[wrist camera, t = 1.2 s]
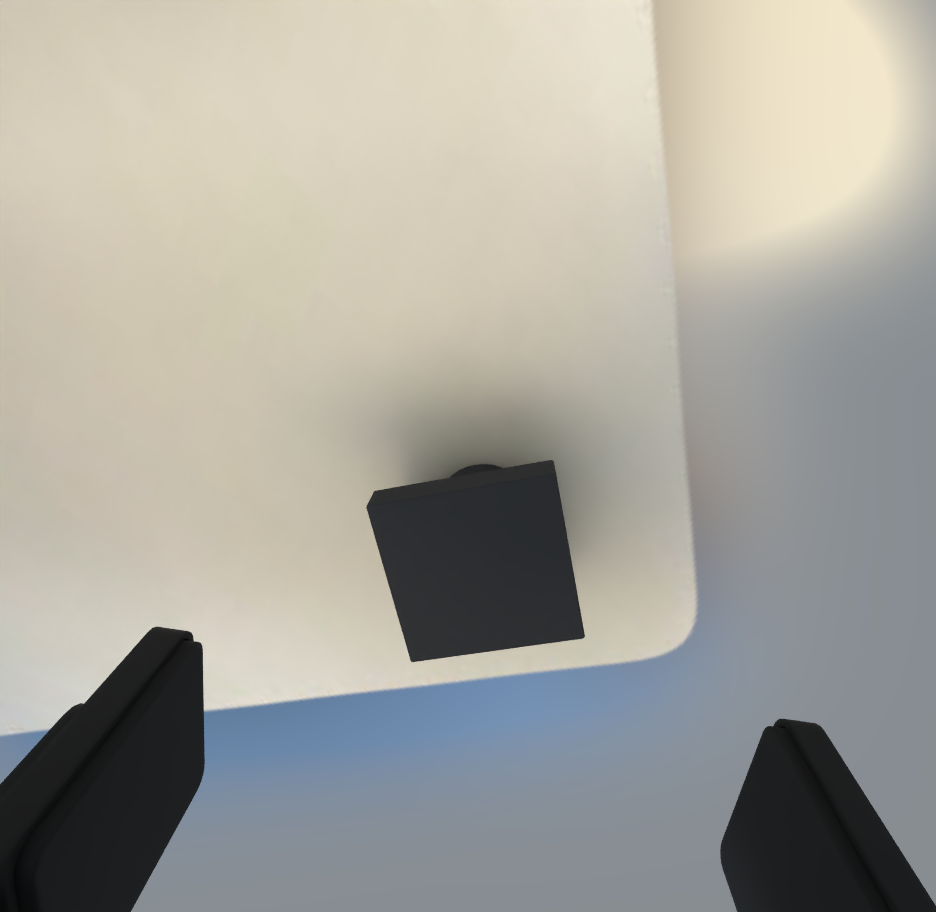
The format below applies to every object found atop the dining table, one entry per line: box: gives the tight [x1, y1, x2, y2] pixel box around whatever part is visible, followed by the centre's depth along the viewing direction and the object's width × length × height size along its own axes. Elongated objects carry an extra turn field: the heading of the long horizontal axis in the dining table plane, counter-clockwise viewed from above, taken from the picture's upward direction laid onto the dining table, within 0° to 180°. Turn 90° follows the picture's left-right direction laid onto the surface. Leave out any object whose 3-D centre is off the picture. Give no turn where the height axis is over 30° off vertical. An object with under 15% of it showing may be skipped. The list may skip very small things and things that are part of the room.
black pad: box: [367, 460, 585, 662], centre depth 26 cm, size 7×7×6 cm
